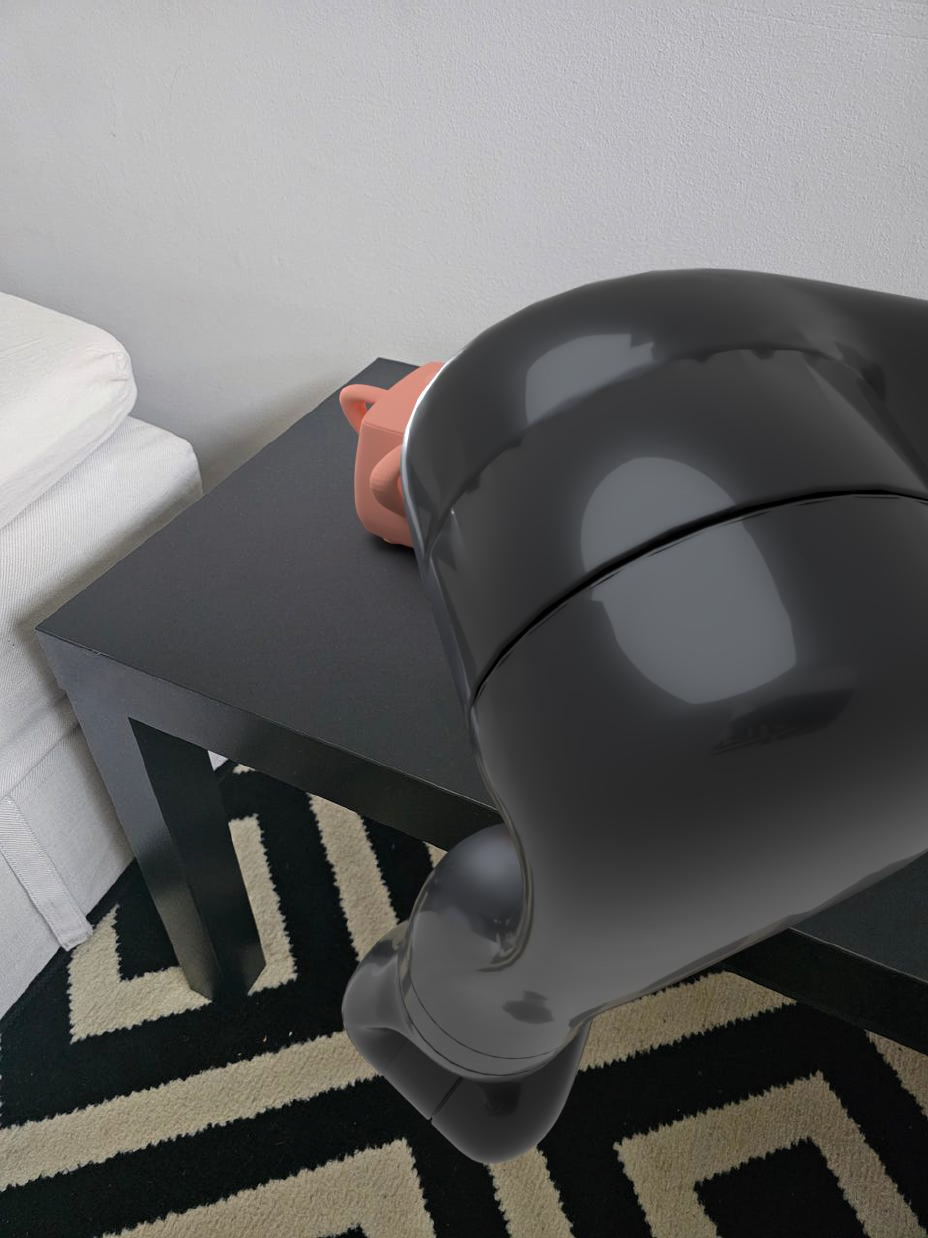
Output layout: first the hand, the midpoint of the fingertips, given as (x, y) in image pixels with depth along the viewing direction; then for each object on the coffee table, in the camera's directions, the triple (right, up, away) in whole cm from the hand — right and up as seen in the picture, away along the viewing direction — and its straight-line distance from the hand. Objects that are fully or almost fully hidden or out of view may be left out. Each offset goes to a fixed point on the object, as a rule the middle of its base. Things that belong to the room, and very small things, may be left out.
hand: (786, 630), depth 63 cm
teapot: (-21, +9, +21) cm, 30 cm away
